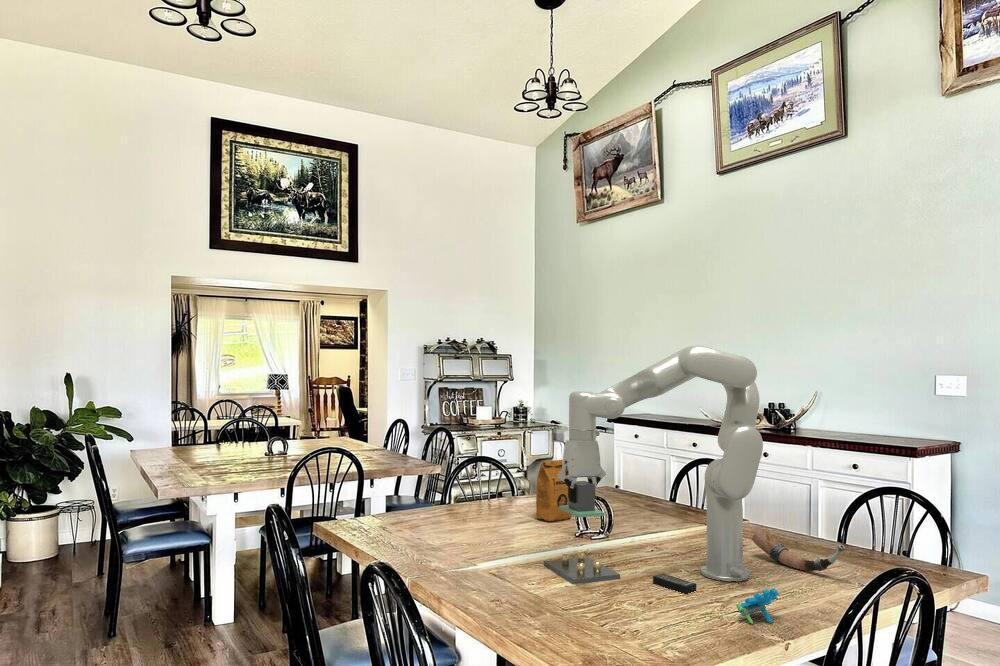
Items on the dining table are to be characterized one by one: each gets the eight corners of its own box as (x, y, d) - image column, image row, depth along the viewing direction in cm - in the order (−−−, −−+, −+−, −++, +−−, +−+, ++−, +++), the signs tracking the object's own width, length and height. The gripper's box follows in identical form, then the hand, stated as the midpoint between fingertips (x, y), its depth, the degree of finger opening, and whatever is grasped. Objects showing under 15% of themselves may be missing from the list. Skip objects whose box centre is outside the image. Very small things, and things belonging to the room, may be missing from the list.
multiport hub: (662, 581, 184) (662, 573, 184) (697, 592, 176) (697, 583, 176) (652, 584, 182) (652, 575, 182) (686, 596, 173) (686, 586, 173)
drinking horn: (761, 554, 211) (761, 521, 212) (851, 582, 185) (851, 544, 185) (748, 556, 208) (748, 523, 209) (838, 585, 182) (837, 546, 183)
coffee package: (575, 520, 255) (576, 460, 256) (548, 524, 248) (548, 462, 249) (559, 515, 263) (560, 457, 264) (532, 518, 257) (533, 459, 258)
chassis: (620, 578, 185) (620, 564, 185) (573, 584, 180) (573, 569, 180) (587, 560, 202) (587, 548, 202) (544, 565, 197) (544, 552, 197)
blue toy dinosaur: (764, 602, 163) (782, 581, 156) (779, 626, 159) (798, 606, 153) (725, 613, 160) (742, 593, 153) (739, 638, 156) (757, 618, 149)
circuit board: (604, 515, 188) (605, 485, 188) (578, 517, 185) (578, 487, 185) (584, 506, 199) (584, 478, 199) (559, 508, 196) (559, 480, 196)
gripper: (601, 433, 199) (601, 497, 199) (548, 435, 193) (548, 500, 192) (615, 436, 192) (615, 502, 192) (561, 438, 186) (560, 506, 185)
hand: (581, 500), depth 192 cm, fingers closed on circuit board, 5 cm apart
